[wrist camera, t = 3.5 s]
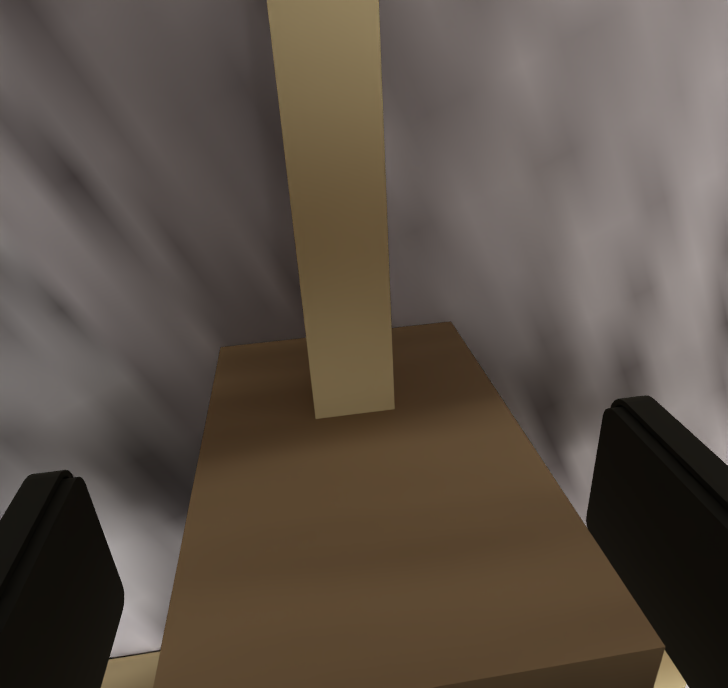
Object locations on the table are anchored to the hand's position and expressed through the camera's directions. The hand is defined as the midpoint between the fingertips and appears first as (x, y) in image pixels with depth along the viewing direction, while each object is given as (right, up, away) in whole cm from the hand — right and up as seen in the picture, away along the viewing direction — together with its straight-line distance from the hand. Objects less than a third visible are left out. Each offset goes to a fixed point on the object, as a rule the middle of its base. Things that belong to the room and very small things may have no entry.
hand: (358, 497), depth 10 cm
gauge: (0, +4, 0) cm, 4 cm away
